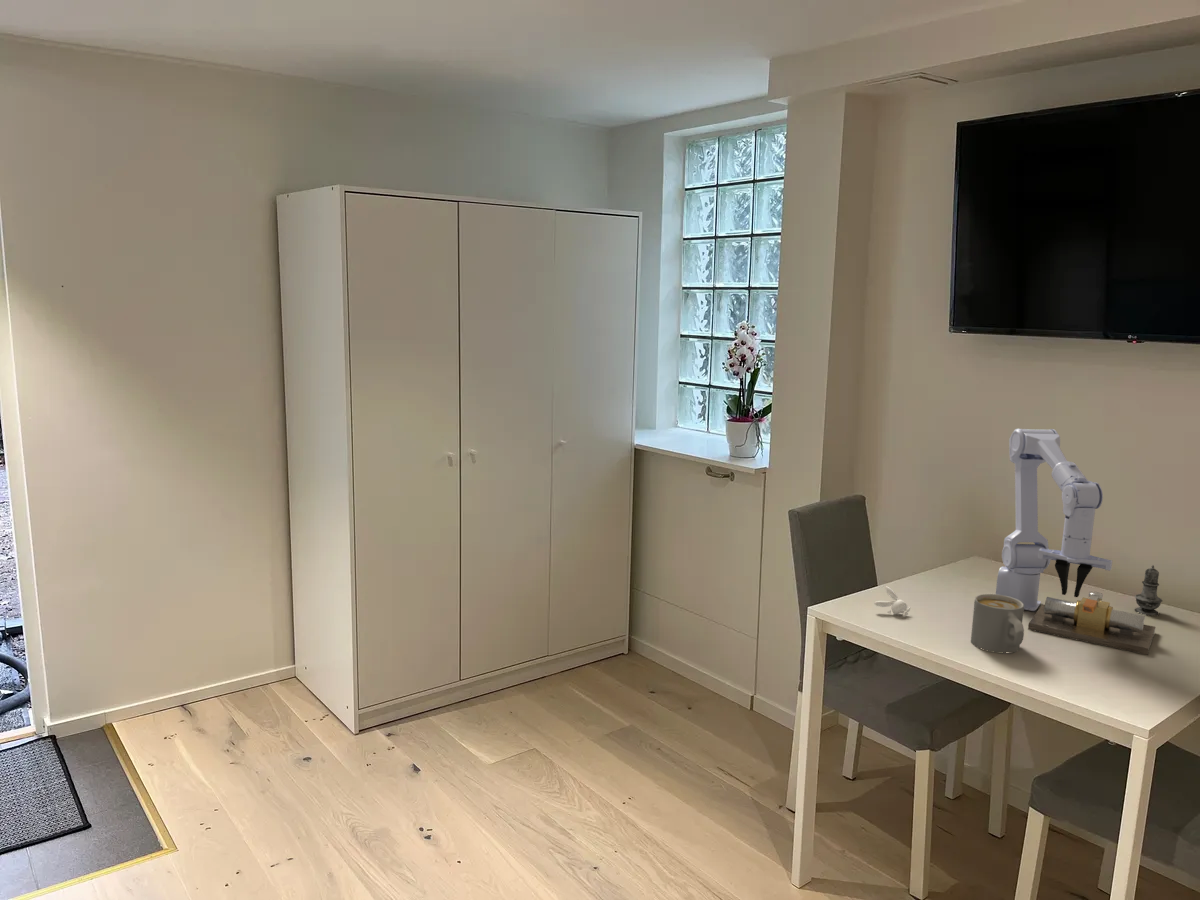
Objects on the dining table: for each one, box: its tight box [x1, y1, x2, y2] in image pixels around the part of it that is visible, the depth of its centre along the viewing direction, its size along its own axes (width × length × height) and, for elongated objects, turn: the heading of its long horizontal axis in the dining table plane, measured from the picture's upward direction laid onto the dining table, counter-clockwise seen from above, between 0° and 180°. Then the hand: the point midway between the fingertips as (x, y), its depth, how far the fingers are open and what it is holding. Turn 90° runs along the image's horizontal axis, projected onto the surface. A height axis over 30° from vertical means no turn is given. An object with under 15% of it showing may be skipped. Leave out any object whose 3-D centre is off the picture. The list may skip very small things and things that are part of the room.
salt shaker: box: [1134, 564, 1163, 616], centre depth 225 cm, size 6×6×12 cm
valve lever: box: [1082, 590, 1104, 613], centre depth 208 cm, size 12×3×2 cm, turn 144°
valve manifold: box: [1027, 596, 1156, 656], centre depth 212 cm, size 24×16×8 cm, turn 54°
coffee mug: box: [970, 593, 1025, 654], centre depth 201 cm, size 13×10×10 cm
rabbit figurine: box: [874, 585, 911, 618], centre depth 222 cm, size 6×4×8 cm
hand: (1070, 594), depth 206 cm, fingers closed
